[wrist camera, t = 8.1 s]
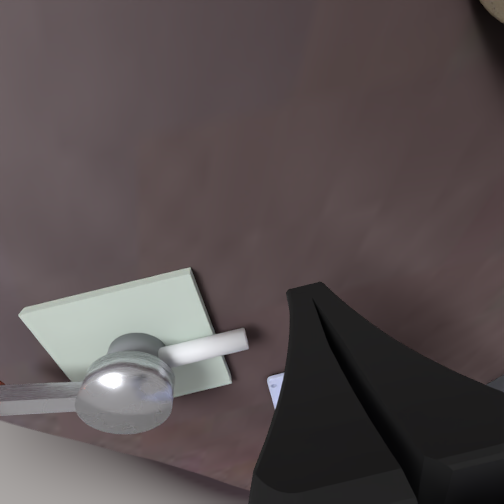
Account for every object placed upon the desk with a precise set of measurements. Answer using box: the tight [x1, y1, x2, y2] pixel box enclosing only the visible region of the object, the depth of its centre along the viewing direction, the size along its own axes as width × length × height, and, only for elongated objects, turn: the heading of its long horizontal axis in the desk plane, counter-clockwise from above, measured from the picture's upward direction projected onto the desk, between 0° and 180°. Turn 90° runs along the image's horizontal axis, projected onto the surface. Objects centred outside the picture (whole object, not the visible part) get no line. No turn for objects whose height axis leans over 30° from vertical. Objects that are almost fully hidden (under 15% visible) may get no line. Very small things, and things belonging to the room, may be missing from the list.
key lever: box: [0, 351, 175, 434], centre depth 20 cm, size 13×6×3 cm, turn 86°
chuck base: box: [18, 267, 249, 397], centre depth 23 cm, size 12×14×3 cm
